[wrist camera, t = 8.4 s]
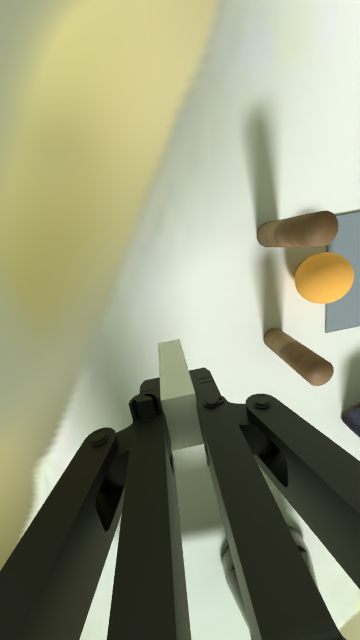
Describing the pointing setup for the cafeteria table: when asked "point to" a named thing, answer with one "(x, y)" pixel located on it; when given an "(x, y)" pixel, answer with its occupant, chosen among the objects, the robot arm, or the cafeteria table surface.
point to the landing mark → (356, 246)
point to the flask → (352, 419)
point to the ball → (324, 277)
